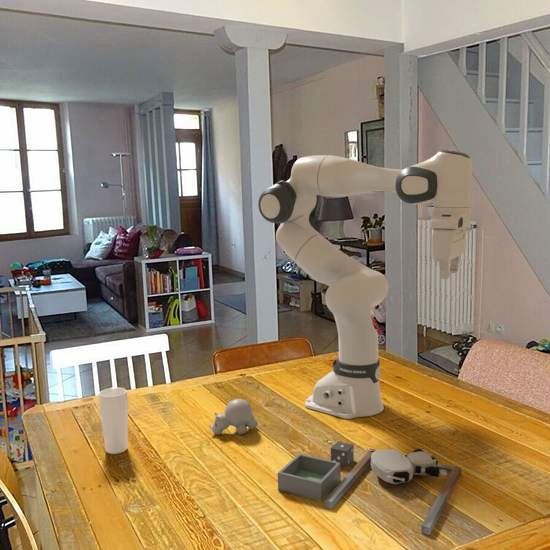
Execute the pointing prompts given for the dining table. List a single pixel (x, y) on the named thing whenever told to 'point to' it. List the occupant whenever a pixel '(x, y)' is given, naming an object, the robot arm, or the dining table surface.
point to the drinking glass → (114, 419)
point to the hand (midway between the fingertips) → (449, 275)
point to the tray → (309, 477)
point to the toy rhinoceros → (235, 417)
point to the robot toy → (404, 465)
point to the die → (342, 453)
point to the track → (434, 510)
